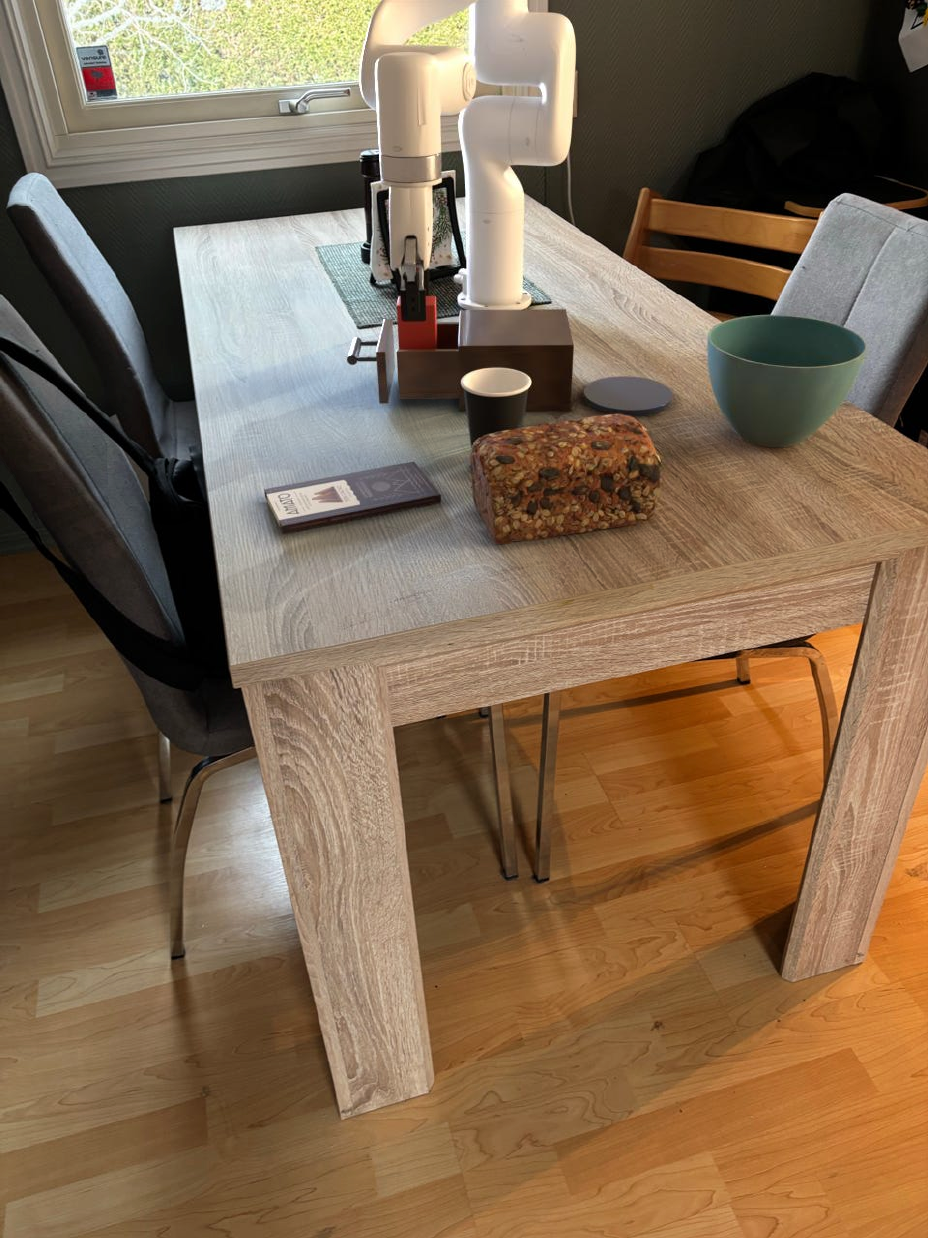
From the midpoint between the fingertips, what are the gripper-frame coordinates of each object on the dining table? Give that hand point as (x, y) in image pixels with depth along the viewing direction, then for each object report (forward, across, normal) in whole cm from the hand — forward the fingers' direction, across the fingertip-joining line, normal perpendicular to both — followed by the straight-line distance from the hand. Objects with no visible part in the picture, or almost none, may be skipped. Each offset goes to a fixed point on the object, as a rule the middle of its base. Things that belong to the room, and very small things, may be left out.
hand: (416, 309), depth 129 cm
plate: (+12, +2, +29) cm, 31 cm away
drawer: (+11, 0, 0) cm, 11 cm away
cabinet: (+12, 0, +13) cm, 17 cm away
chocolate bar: (+12, +31, -6) cm, 34 cm away
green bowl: (+12, +14, +45) cm, 49 cm away
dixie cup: (+12, +24, +10) cm, 28 cm away
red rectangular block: (+9, 0, 0) cm, 9 cm away
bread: (+12, +35, +17) cm, 41 cm away
